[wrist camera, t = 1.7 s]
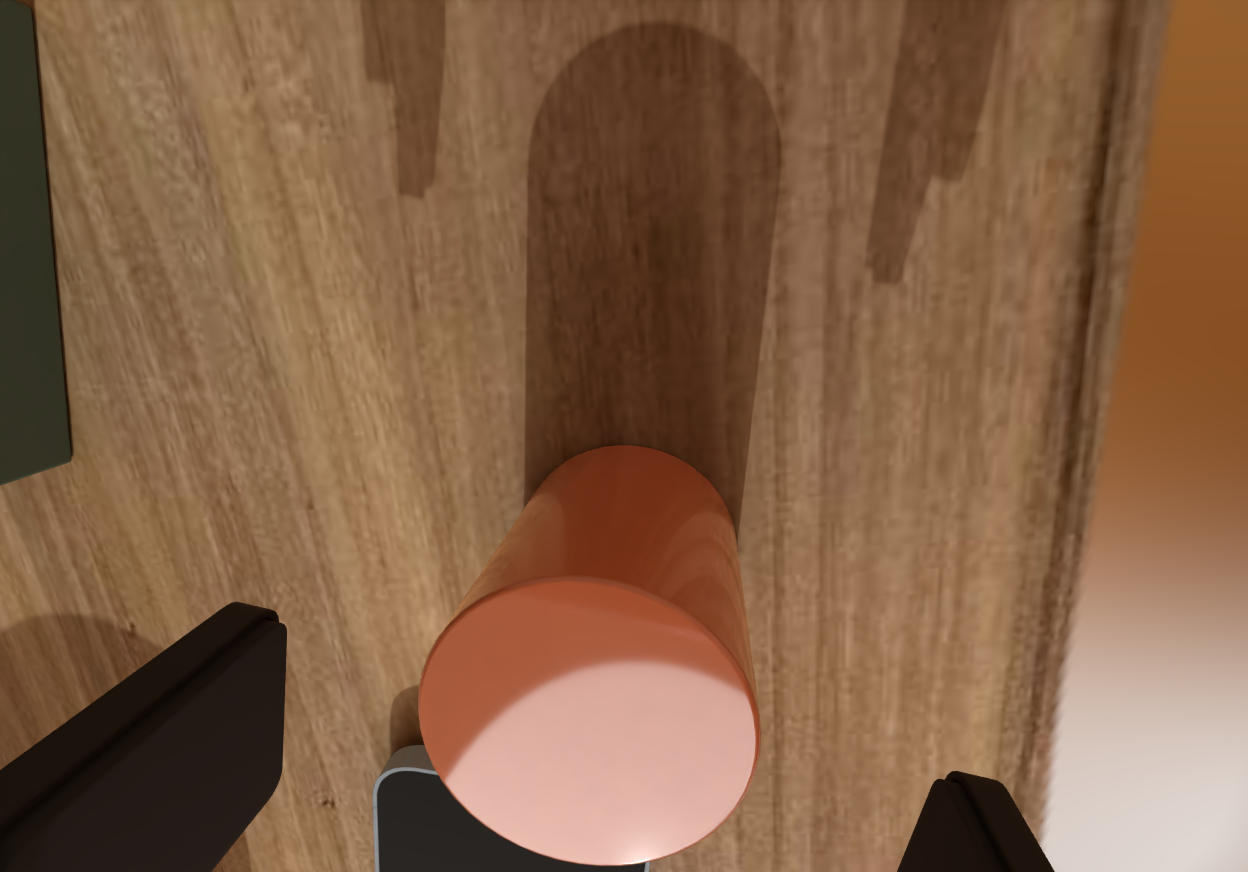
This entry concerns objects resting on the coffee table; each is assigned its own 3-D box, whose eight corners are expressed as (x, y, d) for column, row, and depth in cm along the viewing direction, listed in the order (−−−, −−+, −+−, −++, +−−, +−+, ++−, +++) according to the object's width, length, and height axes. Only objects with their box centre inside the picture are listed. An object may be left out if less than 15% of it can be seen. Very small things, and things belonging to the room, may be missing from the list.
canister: (538, 423, 14) (431, 541, 8) (760, 469, 14) (803, 624, 8) (510, 613, 16) (402, 824, 10) (709, 659, 15) (717, 902, 10)
